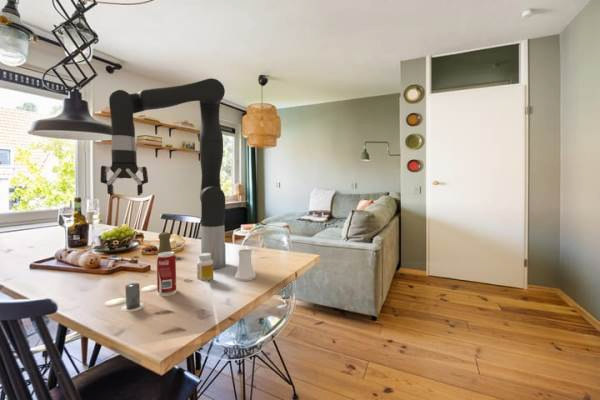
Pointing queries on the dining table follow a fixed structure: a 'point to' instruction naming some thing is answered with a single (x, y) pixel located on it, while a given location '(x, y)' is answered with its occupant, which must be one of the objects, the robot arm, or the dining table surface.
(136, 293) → the pin
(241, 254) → the salt shaker
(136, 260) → the dining table surface
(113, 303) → the white oval discs
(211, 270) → the supplement bottle
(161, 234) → the olive green pepper shaker
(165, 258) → the soda can
